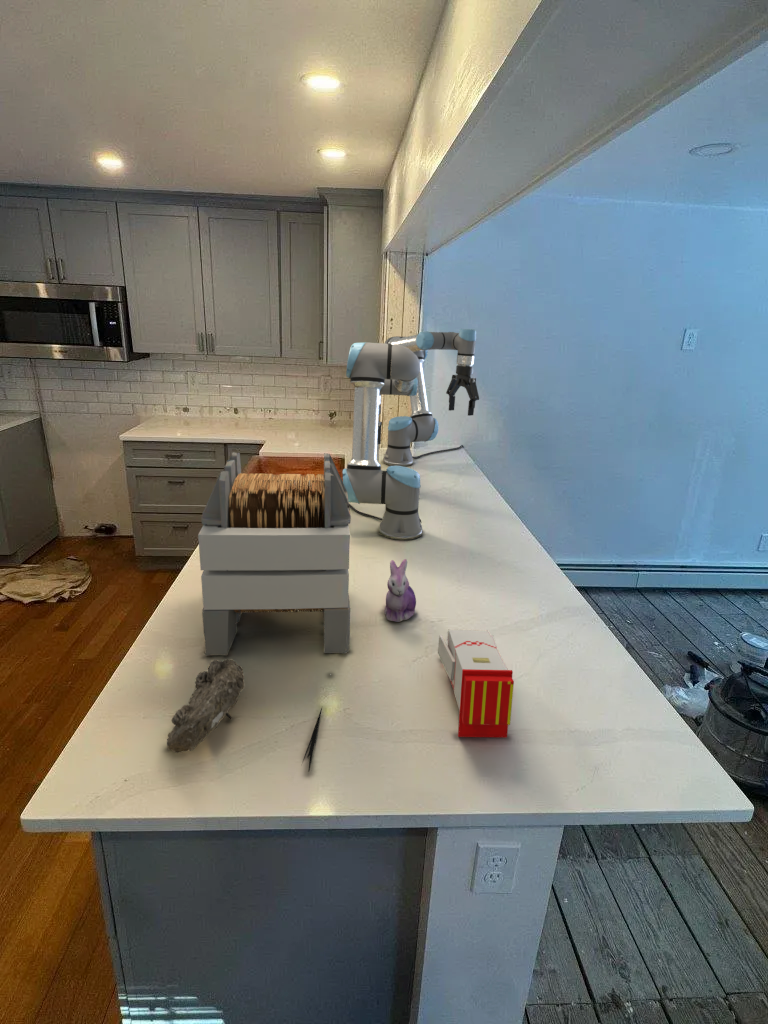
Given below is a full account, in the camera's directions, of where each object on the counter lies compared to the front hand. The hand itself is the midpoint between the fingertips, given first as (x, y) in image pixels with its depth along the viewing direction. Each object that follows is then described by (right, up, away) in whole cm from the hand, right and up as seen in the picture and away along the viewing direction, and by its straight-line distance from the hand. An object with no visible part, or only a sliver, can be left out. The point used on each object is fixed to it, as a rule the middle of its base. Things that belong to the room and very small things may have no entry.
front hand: (370, 457), depth 250 cm
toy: (+24, -62, -132) cm, 147 cm away
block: (0, -3, +1) cm, 4 cm away
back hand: (+41, +22, +10) cm, 48 cm away
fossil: (-27, -63, -142) cm, 158 cm away
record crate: (-20, -51, -107) cm, 120 cm away
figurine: (+10, -51, -103) cm, 115 cm away
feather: (-6, -64, -142) cm, 156 cm away
